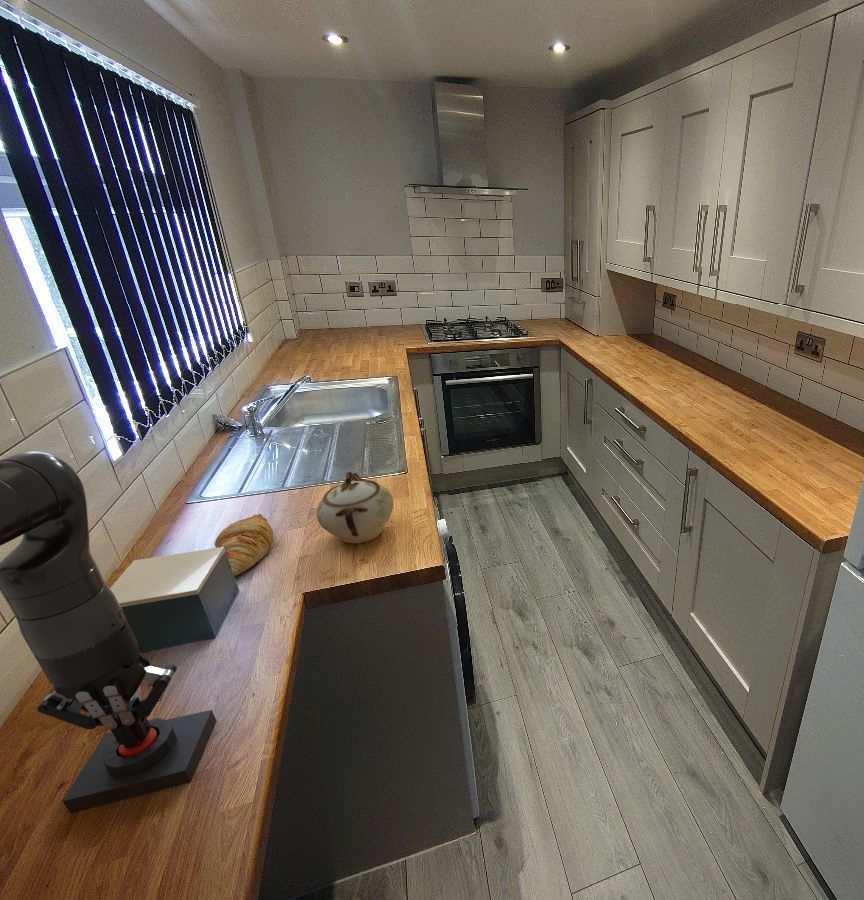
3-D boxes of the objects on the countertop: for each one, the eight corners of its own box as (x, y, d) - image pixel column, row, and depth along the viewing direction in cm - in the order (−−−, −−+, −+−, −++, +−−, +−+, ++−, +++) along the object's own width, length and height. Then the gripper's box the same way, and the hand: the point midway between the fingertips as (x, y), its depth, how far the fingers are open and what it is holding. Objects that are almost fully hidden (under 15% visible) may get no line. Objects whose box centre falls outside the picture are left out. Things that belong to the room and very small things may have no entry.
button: (117, 767, 63) (112, 757, 62) (132, 741, 66) (127, 732, 65) (153, 759, 64) (147, 749, 63) (166, 733, 67) (161, 724, 66)
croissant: (256, 592, 101) (268, 558, 100) (194, 583, 97) (205, 547, 95) (277, 534, 120) (287, 504, 118) (225, 524, 115) (235, 493, 113)
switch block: (70, 813, 60) (55, 791, 59) (111, 745, 68) (98, 723, 67) (191, 782, 63) (179, 760, 62) (216, 720, 71) (207, 699, 70)
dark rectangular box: (123, 655, 82) (101, 611, 79) (159, 604, 94) (141, 563, 90) (215, 637, 86) (198, 594, 82) (239, 590, 97) (225, 550, 93)
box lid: (95, 611, 79) (92, 607, 78) (135, 564, 90) (133, 560, 89) (198, 594, 82) (196, 590, 82) (225, 550, 93) (223, 546, 93)
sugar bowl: (397, 551, 108) (384, 486, 102) (317, 566, 103) (298, 499, 97) (398, 506, 125) (387, 448, 119) (329, 517, 120) (314, 458, 114)
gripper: (-24, 671, 52) (52, 785, 59) (134, 640, 56) (188, 752, 63) (26, 621, 59) (90, 729, 66) (165, 596, 62) (211, 702, 69)
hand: (138, 740), depth 64 cm, fingers closed
